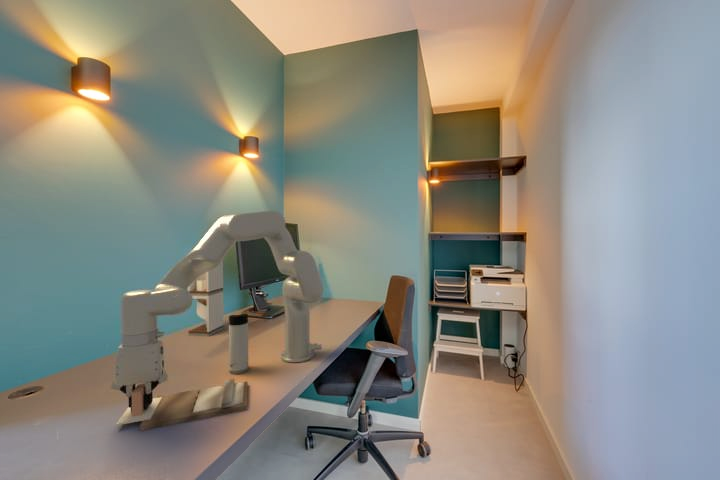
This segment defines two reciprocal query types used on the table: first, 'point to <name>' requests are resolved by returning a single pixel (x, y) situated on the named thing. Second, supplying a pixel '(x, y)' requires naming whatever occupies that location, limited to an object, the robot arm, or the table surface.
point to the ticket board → (199, 404)
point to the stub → (139, 407)
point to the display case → (208, 301)
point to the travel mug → (238, 343)
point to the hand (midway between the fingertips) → (140, 407)
